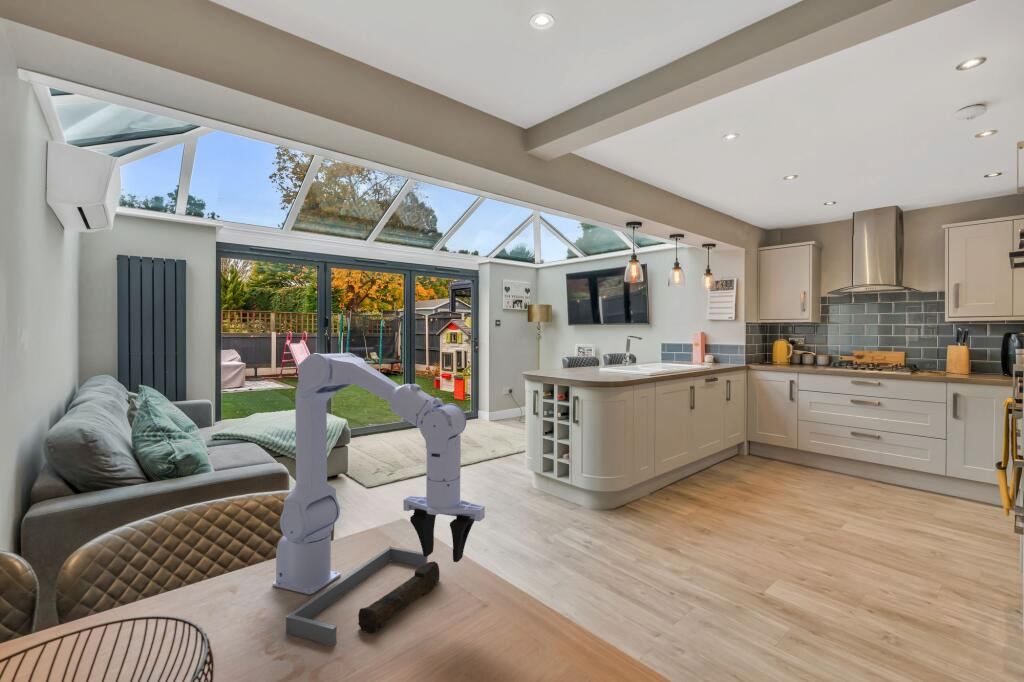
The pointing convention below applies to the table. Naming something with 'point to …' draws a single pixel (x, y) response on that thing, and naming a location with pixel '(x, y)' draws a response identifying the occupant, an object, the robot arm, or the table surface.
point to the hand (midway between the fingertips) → (442, 556)
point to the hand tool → (399, 598)
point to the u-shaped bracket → (326, 633)
